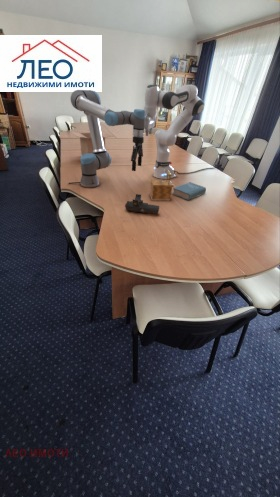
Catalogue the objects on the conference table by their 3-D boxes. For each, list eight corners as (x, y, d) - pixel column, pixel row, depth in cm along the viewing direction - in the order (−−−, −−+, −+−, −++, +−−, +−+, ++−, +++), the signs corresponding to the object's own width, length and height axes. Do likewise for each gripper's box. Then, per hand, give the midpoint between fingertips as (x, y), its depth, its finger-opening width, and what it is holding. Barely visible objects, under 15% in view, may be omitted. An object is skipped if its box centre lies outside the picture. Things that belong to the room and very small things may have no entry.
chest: (167, 195, 175) (169, 182, 168) (170, 200, 167) (172, 186, 160) (150, 194, 173) (151, 181, 167) (152, 200, 165) (153, 186, 159)
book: (188, 187, 190) (190, 182, 187) (205, 193, 181) (206, 187, 178) (172, 193, 177) (173, 187, 174) (188, 200, 168) (190, 194, 165)
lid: (170, 181, 168) (172, 170, 163) (173, 186, 160) (175, 174, 155) (151, 181, 166) (152, 169, 161) (153, 186, 159) (154, 174, 153)
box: (116, 165, 229) (116, 136, 213) (83, 168, 214) (80, 137, 198) (102, 154, 259) (101, 128, 243) (71, 156, 244) (68, 129, 228)
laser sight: (156, 217, 143) (158, 203, 137) (123, 212, 146) (123, 198, 140) (159, 211, 151) (160, 197, 145) (127, 206, 154) (127, 192, 148)
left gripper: (138, 140, 139) (136, 173, 151) (148, 134, 158) (146, 164, 171) (126, 138, 140) (126, 172, 153) (138, 132, 160) (136, 163, 172)
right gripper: (150, 114, 146) (149, 137, 155) (157, 112, 162) (155, 133, 170) (141, 113, 148) (140, 136, 156) (149, 111, 164) (148, 132, 172)
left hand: (136, 168), depth 162 cm, fingers open, 13 cm apart
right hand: (148, 134), depth 163 cm, fingers open, 8 cm apart
